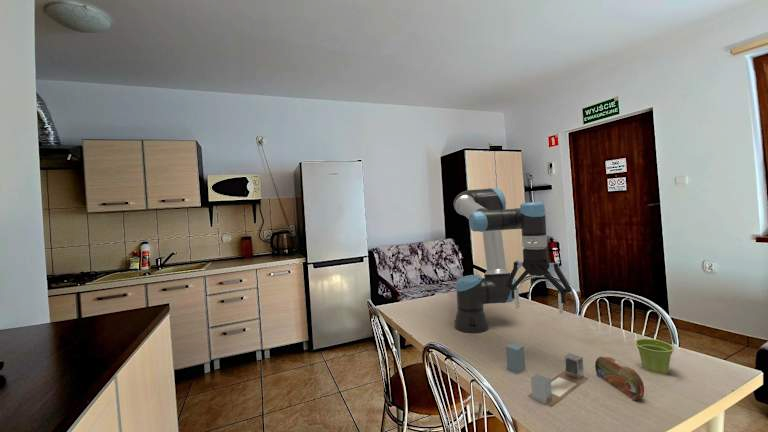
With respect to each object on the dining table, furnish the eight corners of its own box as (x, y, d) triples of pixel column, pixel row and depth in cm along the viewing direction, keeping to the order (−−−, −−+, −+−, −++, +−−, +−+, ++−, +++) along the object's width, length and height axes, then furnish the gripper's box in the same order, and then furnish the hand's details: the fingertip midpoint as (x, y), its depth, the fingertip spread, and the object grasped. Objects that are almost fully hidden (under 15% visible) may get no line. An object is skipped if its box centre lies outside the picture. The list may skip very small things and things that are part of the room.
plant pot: (678, 382, 96) (677, 353, 96) (638, 375, 101) (637, 347, 101) (671, 368, 104) (670, 341, 103) (634, 362, 109) (633, 336, 108)
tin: (594, 378, 101) (593, 352, 100) (604, 377, 101) (602, 351, 101) (636, 407, 86) (635, 376, 85) (647, 406, 86) (646, 375, 86)
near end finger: (532, 398, 91) (531, 377, 91) (539, 393, 93) (538, 372, 93) (546, 404, 87) (545, 382, 87) (553, 399, 89) (551, 378, 89)
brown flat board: (527, 400, 92) (527, 395, 92) (565, 373, 104) (565, 369, 104) (552, 411, 86) (551, 406, 86) (589, 382, 99) (589, 377, 99)
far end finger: (564, 375, 101) (563, 356, 101) (570, 371, 103) (569, 353, 103) (578, 380, 98) (577, 361, 98) (583, 376, 100) (582, 357, 100)
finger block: (507, 372, 107) (505, 346, 107) (515, 368, 110) (514, 342, 110) (518, 377, 104) (516, 349, 104) (526, 372, 107) (525, 345, 107)
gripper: (494, 248, 113) (497, 308, 113) (576, 249, 98) (580, 319, 99) (500, 246, 119) (504, 303, 120) (578, 246, 104) (582, 311, 105)
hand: (538, 310), depth 109 cm, fingers open, 13 cm apart
